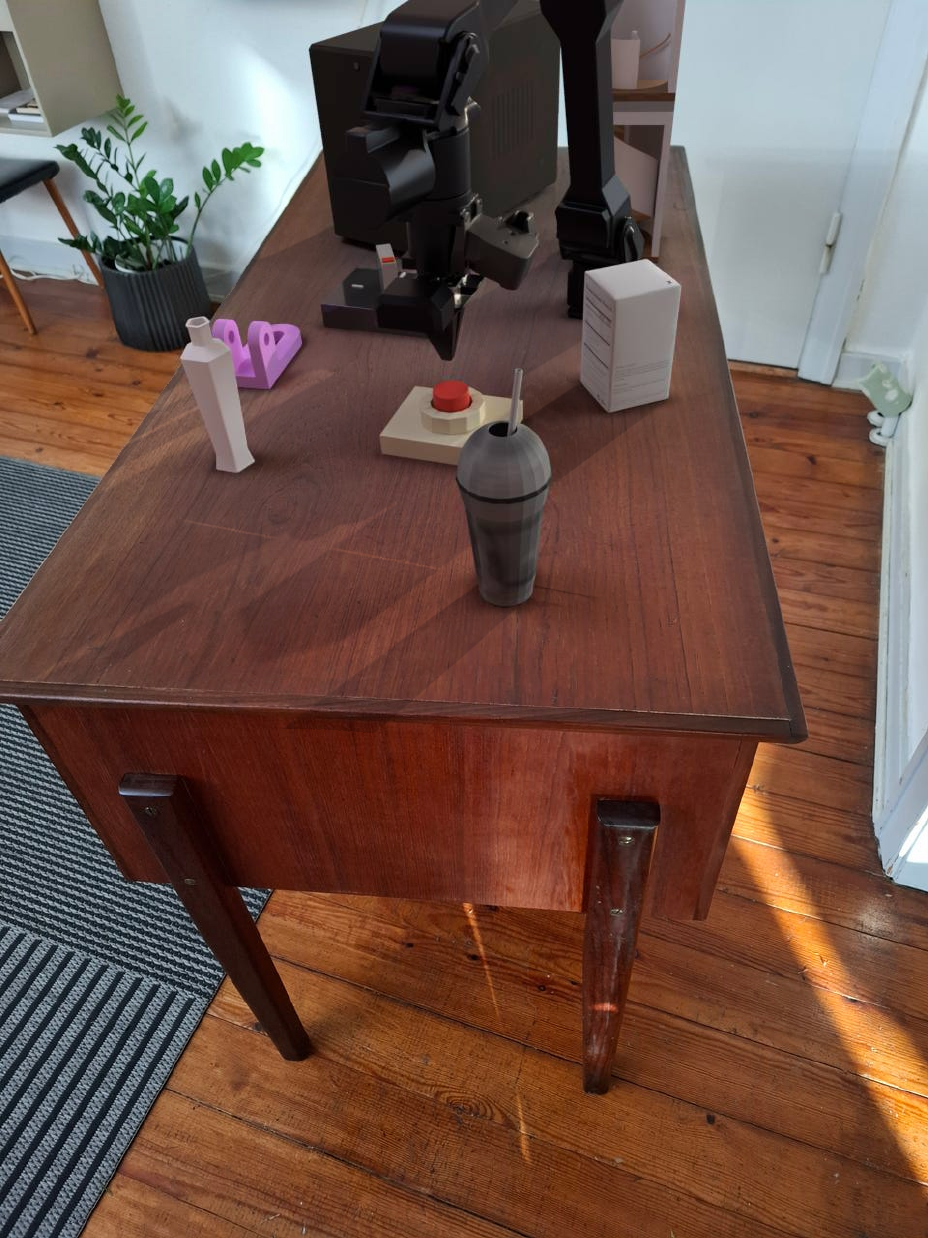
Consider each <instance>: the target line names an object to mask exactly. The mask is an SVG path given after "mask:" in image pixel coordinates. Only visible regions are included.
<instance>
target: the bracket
mask: <svg viewBox="0 0 928 1238" xmlns="http://www.w3.org/2000/svg"><path fill="white" fill-rule="evenodd" d="M211 334H212V338H218V339H220V340H221V341H223V342H224V343H225V344H226V345H227V346H228V347H229V348H230V349H231V353H232V359H233V365H234V371H235V377H236V383H237V388H245V389H247V388H248V389H258V390H259V389H261V390H271V388H272V387H273V386H274V384H275V382H276V381H277V380H278V378H279V377H280V376H281V375H282V373H283V372H284V370H285V369H286V368H287V366H288V365H289V363H290V362H291V361H292V359H293V358H294V356H295V355H296V354H297V352H298V351H299V350H300V348H301V347H302V345H303V340H302V335H301V330H300V328H299V327H298V326H296V325H294V324H290V323H277V324H276V323H274V324H270V322H268V321H261V320H260V321H259V320H253V321H252V322H251V323H250V324H249V326H248V330H247V335H246V336H247V343H246V344H245V345H244V346H243V344H242V341H241V340H242V339H241V336H240V331H239V327H238V325H237V323H236V322H235V320H233V319H227V318H217V319H216V320H215V321H214V323H213V325H212V330H211Z"/></svg>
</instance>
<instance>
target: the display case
mask: <svg viewBox="0 0 928 1238" xmlns="http://www.w3.org/2000/svg"><path fill="white" fill-rule="evenodd" d="M686 2H687V0H624V2H623V4H622V6H621V8H620V10H619V12H618V14H617V16H616V18H615V20H614V22H613V24H612V26H611V61H612V93H613V126H614V158H615V173H616V175H617V176H618V178H619V179H620V181H621V182H622V184H623V185H624V187H625V188H626V190H627V191H628V193H629V194H630V199H631V208H632V218H633V219H634V221H635V223H636V225H637V227H638V228H639V230H640V232H641V234H642V236H643V238H644V245H643V252H642V254H641V258H640V260H644V259H648V260H649V261H651V262H652V263H653V264H654V265H656V266H657V267H659V266H658V265H659V264H658V263H659V255H660V246H661V236H662V226H663V218H664V207H665V199H666V189H667V181H668V172H669V171H668V170H669V160H670V151H671V142H672V132H673V123H674V114H675V105H676V96H677V95H676V94H677V85H678V76H679V66H680V57H681V49H682V41H683V40H682V38H683V29H684V20H685V10H686Z"/></svg>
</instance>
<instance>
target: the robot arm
mask: <svg viewBox="0 0 928 1238" xmlns="http://www.w3.org/2000/svg"><path fill="white" fill-rule="evenodd" d="M518 2H519V0H406V1H405V2H403V3H401V4H400V5H399V6H397V7H396V8H395V9H393V10H392V11H390V12H389V13H388V14H387V16H386V18H385V19H384V20H383V21H384V22H383V23H382V26H381V28H380V31H379V37H378V40H377V44H376V48H375V52H374V56H373V60H372V64H371V68H370V72H369V76H368V79H367V83H366V87H365V91H364V95H363V99H362V103H361V107H360V111H359V118H360V120H363V121H369V122H373V123H371V124H369V125H367V126H364V127H356V128H353V129H351V130H349V131H347V132H346V134H345V139H346V146H347V150H345V151H344V152H342V153H341V154H339V156H338V157H337V158H336V160H335V162H334V165H333V168H332V176H331V177H330V187H331V191H332V195H333V198H334V200H335V202H336V205H337V206H338V208H339V210H340V211H341V213H342V214H343V215H344V216H345V218H346V219H347V220H348V221H349V222H351V223H352V224H353V225H355V226H357V227H359V228H361V229H364V230H373V229H376V228H378V227H380V226H382V225H384V224H385V223H387V222H389V221H391V220H392V219H394V218H396V217H397V218H398V221H404V222H406V224H407V235H408V247H409V250H408V251H407V252H404V254H403V255H402V256H401V258H400V259H401V260H400V262H401V269H402V270H410V271H415V273H417V276H416V277H415V278H414V279H409V278H398V277H396V278H395V279H394V280H393V281H392V282H391V283H390V284H389V285H388V286H387V287H386V288H385V290H384V291H383V292H382V293H381V294H380V295H379V296H378V297H377V298H376V300H375V301H374V302H373V303H372V306H373V314H374V322H375V325H376V326H377V327H378V328H387V329H396V330H404V331H413V332H422V333H425V334H426V335H427V337H428V338H427V339H428V340H429V342H430V343H431V345H432V347H433V348H434V350H435V351H436V353H437V355H438V356H439V358H440V359H441V360H442V361H446V362H451V361H453V359H454V358H455V356H456V352H457V347H458V341H459V338H460V332H461V329H462V328H461V327H462V323H463V318H464V314H465V309H466V306H467V304H468V303H469V302H470V301H471V299H472V298H473V295H474V294H475V293H476V292H477V291H478V290H479V288H480V287H481V286H482V284H483V283H484V282H485V280H486V279H488V280H491V281H493V282H494V283H497V284H498V285H499V287H501V288H502V289H505V290H507V291H517V290H518V289H519V288H520V287H521V284H522V283H523V281H524V280H525V278H526V277H527V276H528V274H529V271H530V268H531V266H532V263H533V260H534V258H535V255H536V253H537V250H538V249H539V248H540V241H539V238H540V233H538V232H536V226H535V218H534V212H532V211H530V210H528V209H526V208H523V207H521V206H518V207H517V208H515V210H514V211H512V212H511V213H510V214H509V215H507V217H506V218H505V219H504V220H503V217H502V216H501V215H500V214H499V215H497V216H496V217H495V218H491V217H488V216H486V215H483V211H482V199H479V194H477V193H471V174H470V148H469V126H468V125H469V121H471V120H473V119H475V118H477V117H479V116H480V114H481V108H480V106H479V105H478V104H477V103H476V102H474V101H473V100H472V99H471V98H470V97H469V96H470V94H471V92H472V90H473V89H474V87H475V85H476V84H477V82H478V80H479V79H480V77H481V75H482V73H483V72H484V70H485V68H486V66H487V65H488V63H489V46H488V41H489V39H490V37H491V36H492V34H493V32H494V31H495V30H496V28H497V27H498V26H499V25H500V23H501V22H502V21H503V20H504V19H505V17H506V16H507V15H508V14H509V13H510V11H511V10H512V9H513V8H514V7H515V5H516V4H517V3H518ZM539 2H540V8H541V12H542V14H543V16H544V17H545V19H546V20H547V22H548V23H549V25H550V27H551V28H552V30H553V31H554V33H555V34H556V36H557V38H558V39H559V41H560V61H561V71H562V72H561V74H562V83H563V84H562V86H563V87H562V88H563V96H564V97H563V98H564V99H563V100H564V112H565V113H564V114H565V127H566V140H567V141H566V142H567V153H568V166H569V167H568V168H569V179H570V180H569V185H568V188H567V189H566V190H565V191H566V192H565V193H564V195H563V197H562V198H561V200H560V202H559V204H558V205H557V206H556V208H555V210H554V216H555V222H556V233H555V238H556V239H557V242H558V248H559V253H560V259H561V260H563V261H571V262H572V266H571V267H570V269H569V270H568V272H567V283H566V284H567V285H566V305H567V306H569V307H568V309H567V312H566V315H567V316H568V317H572V318H582V319H583V303H584V277H585V271H590V270H596V269H601V268H606V267H610V266H615V265H620V264H625V263H630V262H635V261H639V260H640V258H641V254H642V252H643V245H644V238H643V236H642V234H641V232H640V230H639V228H638V227H637V225H636V223H635V221H634V219H633V218H632V208H631V199H630V194H629V193H628V191H627V190H626V188H625V187H624V185H623V184H622V182H621V181H620V179H619V178H618V176H617V175H616V173H615V158H614V126H613V93H612V61H611V26H612V24H613V22H614V20H615V18H616V16H617V14H618V12H619V10H620V8H621V6H622V4H623V2H624V0H539ZM392 92H393V93H395V94H397V95H399V96H407V97H415V98H423V99H430V100H433V101H432V102H431V103H426V102H418V101H411V100H403V99H395V98H390V96H391V94H392ZM471 272H474V273H471Z"/></svg>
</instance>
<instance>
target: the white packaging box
mask: <svg viewBox="0 0 928 1238" xmlns="http://www.w3.org/2000/svg"><path fill="white" fill-rule="evenodd" d="M681 292H682V285H681V284H680V283H679V282H678V281H676V280H675V279H674V278H673V277H671V276H670V275H669V274H668V273H666V272H665V271H664V270H662V269H661V268H660V267H659V266H656V265H654V264H653V263H652V262H651V261H649V260H648V259H644V260H639V261H635V262H630V263H625V264H620V265H615V266H610V267H606V268H601V269H596V270H590V271H585V277H584V303H583V318H582V327H581V328H582V330H581V331H582V332H581V352H580V375H579V376H580V379H579V380H580V381H579V382H580V383H581V384H582V386H583V387H584V388H585V390H586V391H588V393H590V395H591V396H592V397H593V398H594V399H595V400H596V401H597V402H598V403H599V405H600V406H601V407H602V408H603V409H604V410H605V411H606V413H608V414H611V413H615V412H618V411H622V410H627V409H631V408H635V407H638V406H639V407H640V406H644V405H647V404H651V403H655V402H660V401H663V400H664V401H665V400H667V399H669V395H670V386H671V378H672V370H673V361H674V353H675V343H676V336H677V335H676V334H677V328H678V327H677V325H678V319H679V312H680V311H679V310H680V301H681V294H682V293H681Z"/></svg>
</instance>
